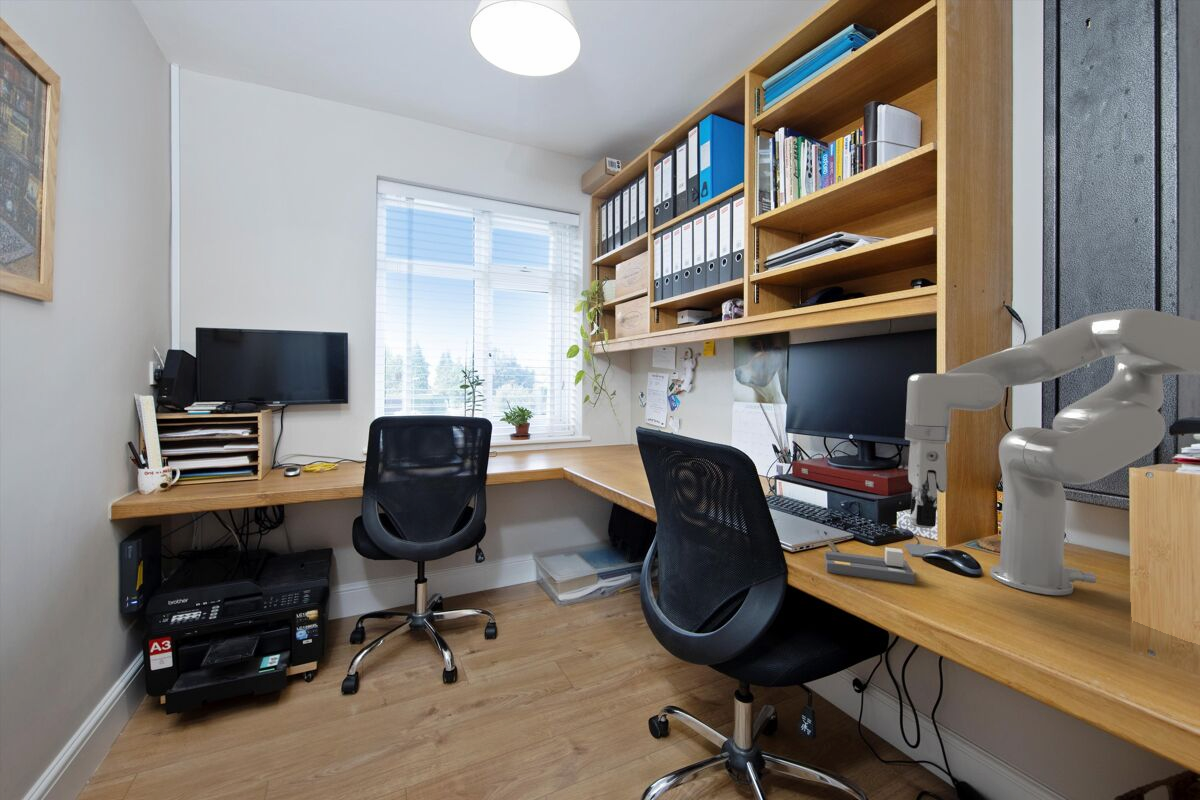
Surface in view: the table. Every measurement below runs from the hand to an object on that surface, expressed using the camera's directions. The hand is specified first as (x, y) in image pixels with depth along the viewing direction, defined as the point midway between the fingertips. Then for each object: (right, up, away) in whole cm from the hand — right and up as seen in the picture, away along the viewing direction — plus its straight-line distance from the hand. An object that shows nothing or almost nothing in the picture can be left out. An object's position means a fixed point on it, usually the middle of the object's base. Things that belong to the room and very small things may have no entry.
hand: (922, 520), depth 99 cm
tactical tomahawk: (-8, -12, +22) cm, 26 cm away
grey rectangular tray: (-9, -12, +4) cm, 16 cm away
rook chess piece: (0, -1, 0) cm, 1 cm away
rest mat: (+12, -11, +15) cm, 22 cm away
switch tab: (-4, -10, +2) cm, 11 cm away
